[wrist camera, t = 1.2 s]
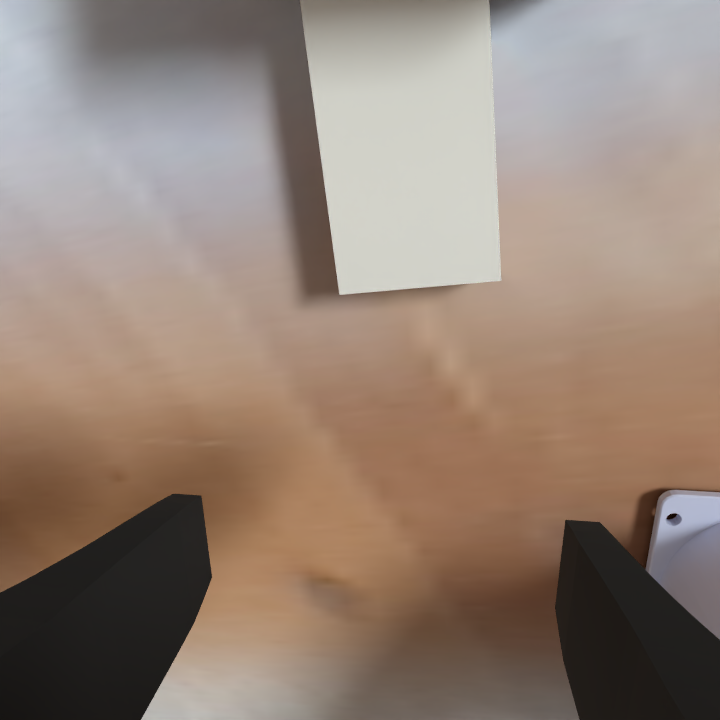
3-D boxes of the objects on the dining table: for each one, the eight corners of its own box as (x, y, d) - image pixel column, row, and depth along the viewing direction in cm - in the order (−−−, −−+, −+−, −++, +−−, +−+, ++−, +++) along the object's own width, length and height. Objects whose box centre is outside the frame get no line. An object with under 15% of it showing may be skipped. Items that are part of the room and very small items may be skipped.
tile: (495, 267, 19) (501, 280, 17) (350, 280, 20) (339, 294, 18) (481, -44, 16) (486, -72, 14) (313, -12, 17) (294, -35, 15)
